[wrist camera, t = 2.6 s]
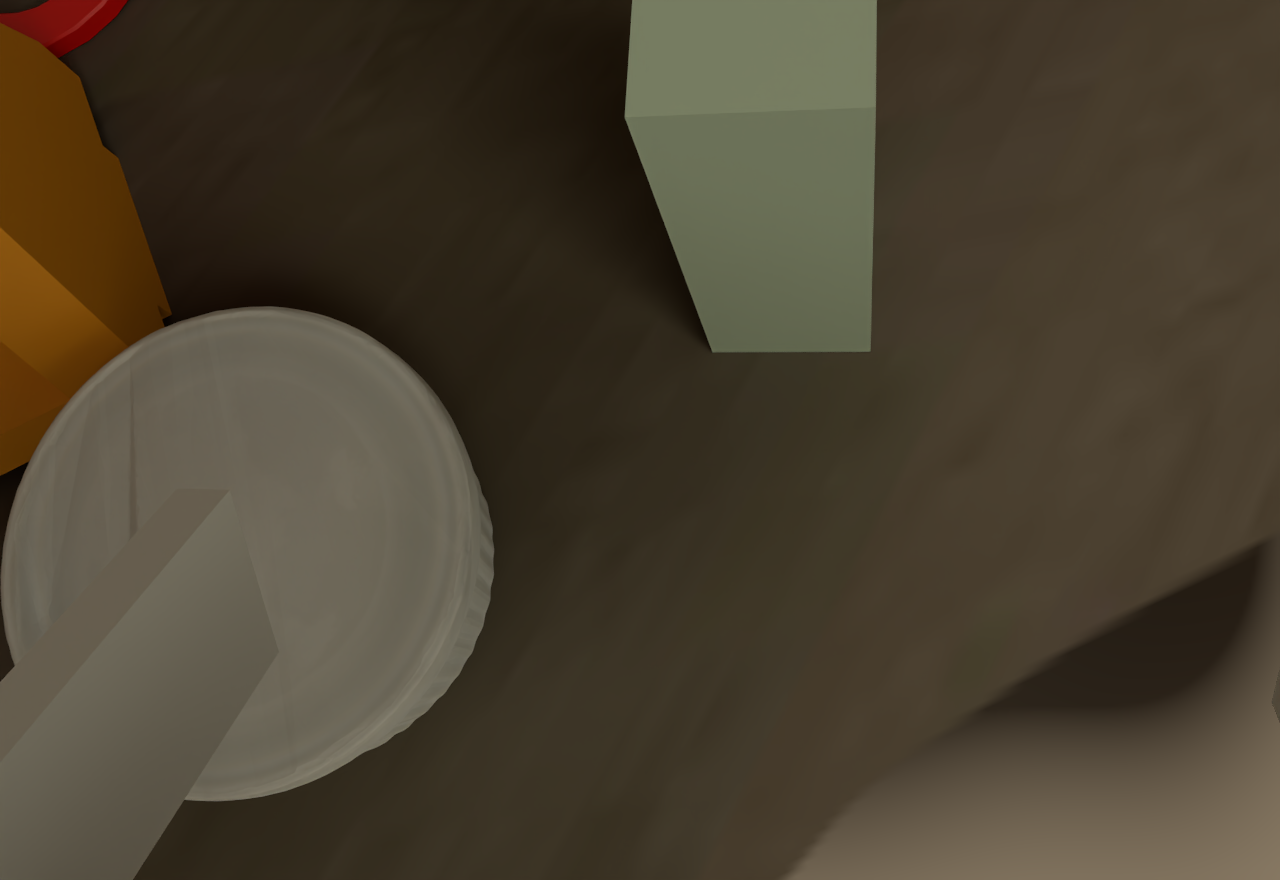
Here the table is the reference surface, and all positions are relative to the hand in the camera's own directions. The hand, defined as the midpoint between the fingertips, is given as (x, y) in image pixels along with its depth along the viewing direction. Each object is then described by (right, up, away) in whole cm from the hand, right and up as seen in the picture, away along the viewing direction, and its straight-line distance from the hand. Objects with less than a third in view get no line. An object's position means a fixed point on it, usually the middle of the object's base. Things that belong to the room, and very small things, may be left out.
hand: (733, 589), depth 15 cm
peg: (+3, +6, +16) cm, 17 cm away
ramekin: (-9, -2, +17) cm, 19 cm away
